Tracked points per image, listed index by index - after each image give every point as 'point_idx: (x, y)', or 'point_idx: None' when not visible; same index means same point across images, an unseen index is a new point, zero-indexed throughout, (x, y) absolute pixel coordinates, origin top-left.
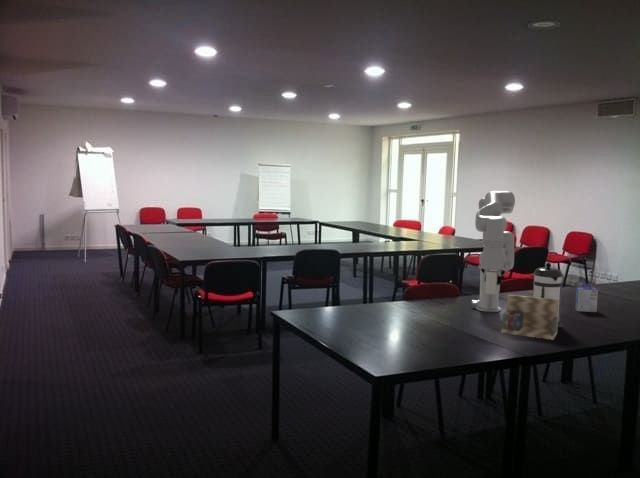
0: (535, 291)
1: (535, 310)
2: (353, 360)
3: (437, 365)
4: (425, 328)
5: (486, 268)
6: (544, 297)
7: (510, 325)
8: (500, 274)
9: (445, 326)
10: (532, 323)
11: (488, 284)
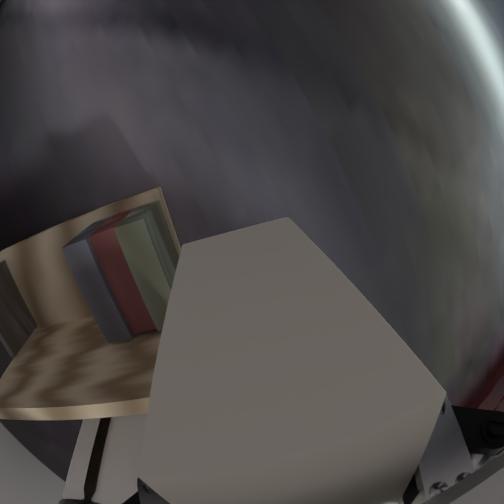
0: (135, 487)
1: (63, 363)
2: None
3: None
4: (416, 37)
5: (474, 486)
6: (90, 461)
7: (118, 217)
8: (151, 493)
9: (388, 106)
10: (90, 324)
11: (278, 263)
